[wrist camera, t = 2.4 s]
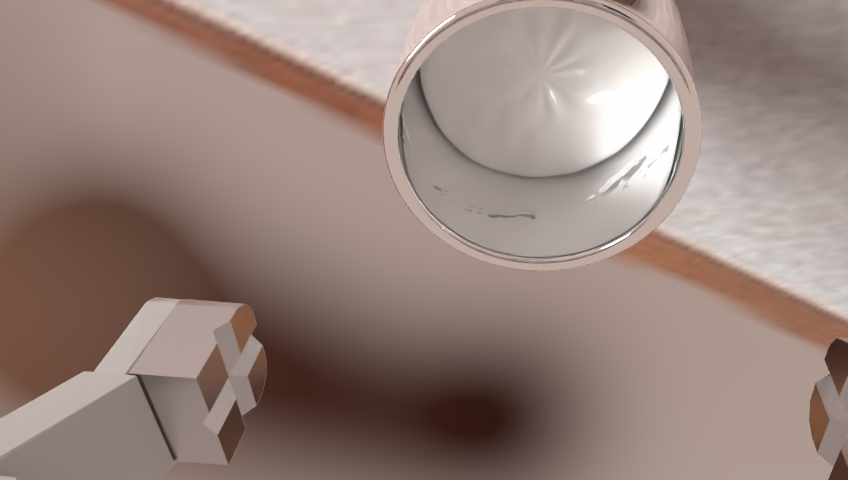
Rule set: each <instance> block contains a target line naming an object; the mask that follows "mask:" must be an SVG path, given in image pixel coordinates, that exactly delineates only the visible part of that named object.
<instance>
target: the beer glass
mask: <svg viewBox="0 0 848 480" xmlns="http://www.w3.org/2000/svg"><path fill="white" fill-rule="evenodd" d="M701 138H702V118H701V109H700V104H699V99H698V95H697V92H696V89H695V84H694V75H693V69H692V62H691V56H690V50H689V45H688V41H687V37H686V34H685V30H684V27H683V23H682V20H681V16H680V13H679V10H678V7H677V5H676V3H675V0H423V1H422V3H421V5H420V7H419V9H418V11H417V14H416V16H415V18H414V21H413V23H412V26H411V28H410V30H409V33H408V35H407V38H406V41H405V45H404V48H403V51H402V54H401V58H400V61H399V65H398V68H397V72H396V75H395V77H394V79H393V82H392V84H391V87H390V90H389V93H388V96H387V100H386V104H385V109H384V116H383V146H384V153H385V158H386V162H387V166H388V169H389V172H390V175H391V178H392V180H393V182H394V185H395V187H396V189H397V191H398V192H399V194H400V196H401V198H402V199H403V201H404V202H405V204H406V205H407V206H408V208H409V209H410V210H411V212H412V213H413V214H414V215H415V217H416V218H417V219H418V220H419V221H420V222H421V223H422V224H423V225H424V226H425V227H426V228H427V229H428V230H429V231H431V232H432V233H433V234H434V235H435V236H437V237H438V238H439V239H441V240H442V241H443V242H445V243H447V244H448V245H450V246H451V247H453V248H455V249H456V250H458V251H460V252H462V253H464V254H466V255H468V256H471V257H473V258H475V259H478V260H481V261H483V262H486V263H490V264H493V265H497V266H501V267H506V268H511V269H518V270H527V271H554V270H563V269H570V268H576V267H580V266H584V265H589V264H592V263H595V262H598V261H601V260H604V259H606V258H609V257H611V256H613V255H616V254H618V253H620V252H622V251H624V250H626V249H627V248H629V247H631V246H632V245H634V244H636V243H637V242H639V241H640V240H641V239H643V238H644V237H646V236H647V235H648V234H649V233H651V232H652V231H653V230H654V229H655V228H656V227H657V226H659V225H660V224H661V223H662V222H663V221H664V220H665V219H666V217H667V216H668V215H669V214H670V213H671V212H672V210H673V209H674V208H675V206H676V205H677V204H678V202H679V201H680V199H681V198H682V196H683V194H684V193H685V191H686V189H687V187H688V185H689V183H690V181H691V179H692V176H693V174H694V171H695V168H696V165H697V161H698V157H699V153H700V147H701Z"/></svg>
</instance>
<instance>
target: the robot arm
mask: <svg viewBox="0 0 848 480" xmlns="http://www.w3.org/2000/svg"><path fill="white" fill-rule="evenodd" d="M255 326H256V321H255V318H254V315H253V312H252V309H251V307H249V306H247V305H245V304H238V303H225V302H214V301H201V300H189V299H185V300H179V299H169V298H154V299H151V300H149V301H147V302H146V303H145V304H144V306H143V307H142V308H141V310H140V311H139V312H138V314H137V315H136V317H135V318H134V319H133V320H132V322H131V323H130V324H129V326H128V327H127V328H126V330H125V331H124V332H123V334H122V335H121V336H120V338H119V339H118V340H117V342H116V343H115V344H114V346H113V347H112V348H111V350H110V351H109V352H108V353H107V355H106V356H105V357H104V359H103V360H102V361H101V363H100V364H99V365H98V367H97V368H96V369H95V371H94V372H82V373H81V374H79V375H77V376H75V377H73V378H72V379H70V380H68V381H66V382H65V383H63V384H61V385H59V386H58V387H56V388H54V389H52V390H51V391H49V392H47V393H45V394H43V395H42V396H40V397H38V398H36V399H35V400H33V401H31V402H29V403H27V404H26V405H24V406H22V407H21V408H19V409H17V410H15V411H13V412H12V413H10V414H8V415H6V416H5V417H3V418H1V419H0V480H157V479H159V478H160V477H161V476H162V475H163V474H164V473H166V472H167V471H168V470H169V469H170V468H171V467H173V466H174V465H175V462H174V461H179V462H194V463H207V464H221V465H229V463H230V461H231V459H232V457H233V455H234V452H235V450H236V448H237V446H238V444H239V442H240V440H241V437H242V435H243V433H244V431H245V429H246V428H245V425H244V422H243V419H242V415H244V414H245V413H247V412H248V411H249V410H251V409H252V408H254V407H255V406H256V405H257V403H258V401H259V399H260V396H261V394H262V392H263V388H264V383H265V377H266V372H267V370H266V356H265V352H264V349H263V345H262V344H261V343H259V342H258V341H257V340H256V339H255V338H254V337H253V336H252V335H251V333H252V332H253V330H254V328H255ZM824 360H825V362H826V365H827V367H828V370H829V372H830V374H829V375H827V376H826V377H824V378H823V379H821V380H820V381H818V382H816V383H815V386H814V390H813V393H812V396H811V399H810V413H809V422H810V428H811V434H812V438H813V441H814V444H815V447H816V450H817V453H818V454H819V455H821V456H822V457H823V458H824V459H825V460H826V461H828V462H829V463H830V464H831V465H832V466H833V469H832V472H831V474H830V477H829V479H828V480H848V338H836V339H835V340H834V341H833V342H832V343H831V344H830V346H829V348H828V351H827V353H826V356H825V359H824Z"/></svg>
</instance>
